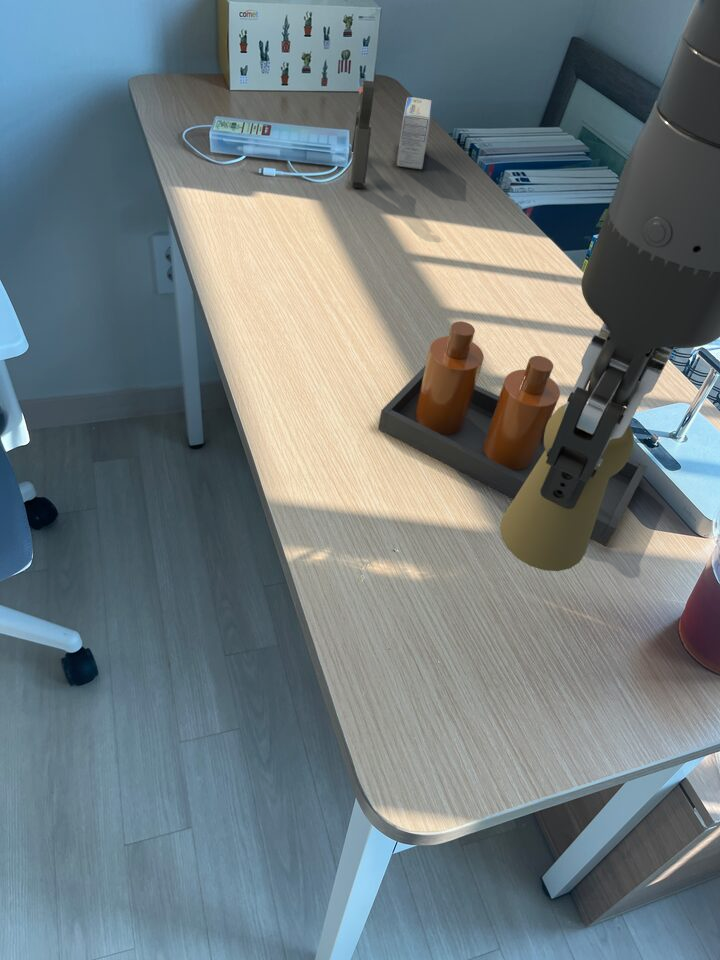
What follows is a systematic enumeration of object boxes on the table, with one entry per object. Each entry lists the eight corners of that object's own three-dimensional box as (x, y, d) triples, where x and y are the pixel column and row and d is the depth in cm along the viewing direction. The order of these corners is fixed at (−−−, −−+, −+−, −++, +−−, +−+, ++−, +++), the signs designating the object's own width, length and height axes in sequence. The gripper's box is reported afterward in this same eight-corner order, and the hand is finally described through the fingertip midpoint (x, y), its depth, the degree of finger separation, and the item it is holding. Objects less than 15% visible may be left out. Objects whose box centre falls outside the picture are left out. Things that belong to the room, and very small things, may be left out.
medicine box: (421, 171, 127) (431, 118, 121) (395, 166, 127) (403, 113, 121) (424, 151, 133) (433, 99, 126) (398, 147, 133) (406, 95, 126)
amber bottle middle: (542, 448, 82) (578, 361, 74) (521, 478, 79) (557, 390, 70) (496, 426, 84) (526, 338, 75) (474, 454, 80) (503, 365, 72)
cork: (589, 578, 50) (656, 463, 42) (499, 561, 50) (548, 443, 42) (583, 510, 54) (643, 394, 46) (500, 495, 54) (545, 376, 46)
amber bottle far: (473, 414, 85) (500, 326, 76) (450, 442, 81) (476, 352, 73) (429, 393, 86) (451, 305, 78) (405, 419, 83) (425, 329, 74)
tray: (637, 484, 81) (647, 466, 79) (605, 546, 75) (616, 528, 73) (423, 381, 89) (428, 362, 87) (377, 429, 82) (381, 410, 80)
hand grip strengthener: (363, 155, 129) (374, 60, 118) (364, 190, 120) (377, 91, 109) (349, 154, 128) (360, 58, 117) (350, 188, 120) (361, 89, 109)
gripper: (740, 323, 30) (592, 576, 42) (795, 196, 39) (660, 435, 51) (563, 254, 32) (472, 514, 44) (654, 148, 41) (557, 389, 53)
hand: (573, 471), depth 47 cm, fingers closed on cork, 5 cm apart
